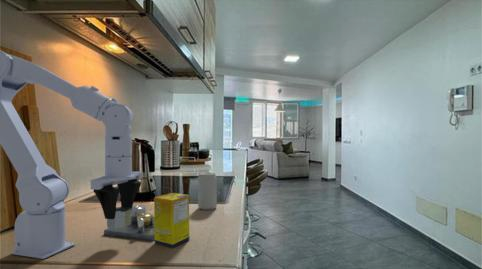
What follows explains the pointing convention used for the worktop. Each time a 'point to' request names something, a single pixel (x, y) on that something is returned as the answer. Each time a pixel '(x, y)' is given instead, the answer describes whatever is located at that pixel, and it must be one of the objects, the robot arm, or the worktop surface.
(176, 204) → the supplement box
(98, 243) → the worktop surface
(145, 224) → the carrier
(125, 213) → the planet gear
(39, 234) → the robot arm
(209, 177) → the beverage can
